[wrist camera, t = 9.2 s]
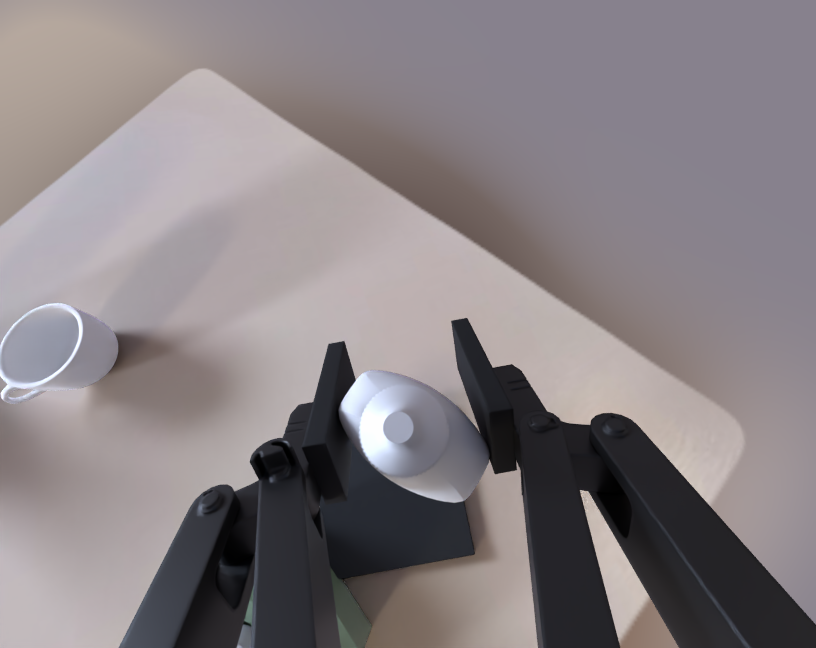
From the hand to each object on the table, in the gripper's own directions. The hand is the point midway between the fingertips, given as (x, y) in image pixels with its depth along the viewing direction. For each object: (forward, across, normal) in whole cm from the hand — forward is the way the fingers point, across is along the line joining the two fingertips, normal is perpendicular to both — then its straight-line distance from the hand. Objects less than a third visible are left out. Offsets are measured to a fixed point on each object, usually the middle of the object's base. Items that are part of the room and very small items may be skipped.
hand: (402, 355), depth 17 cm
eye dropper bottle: (0, 0, -5) cm, 5 cm away
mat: (+7, -4, -17) cm, 18 cm away
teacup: (+18, -32, -5) cm, 38 cm away
